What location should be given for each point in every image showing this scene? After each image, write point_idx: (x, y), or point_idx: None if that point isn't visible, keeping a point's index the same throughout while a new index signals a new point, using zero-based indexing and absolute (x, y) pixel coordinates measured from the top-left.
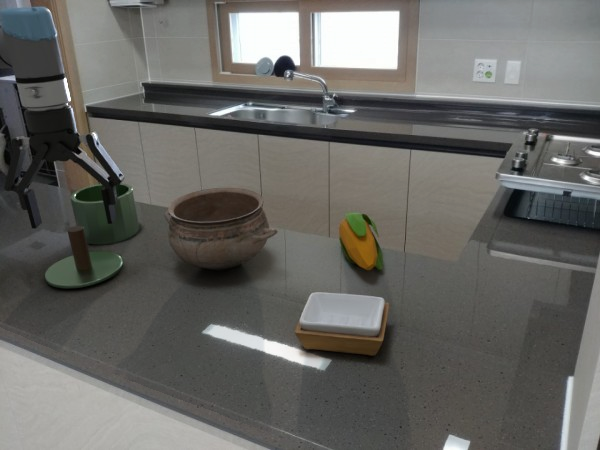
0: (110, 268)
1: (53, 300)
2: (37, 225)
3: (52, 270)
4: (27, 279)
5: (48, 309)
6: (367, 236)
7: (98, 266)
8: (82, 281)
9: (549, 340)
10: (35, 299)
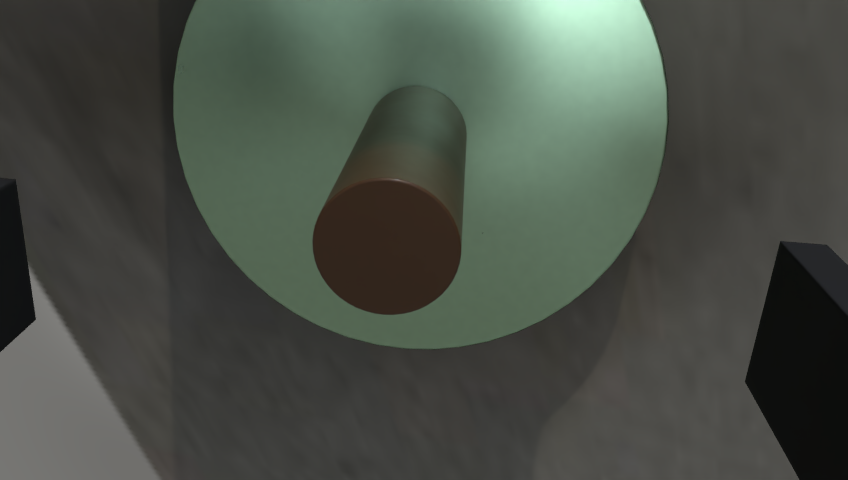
0: (600, 189)
1: (332, 395)
2: (23, 289)
3: (213, 139)
4: (75, 139)
5: (338, 464)
6: None
7: (513, 142)
8: (455, 318)
9: None
10: (233, 368)
